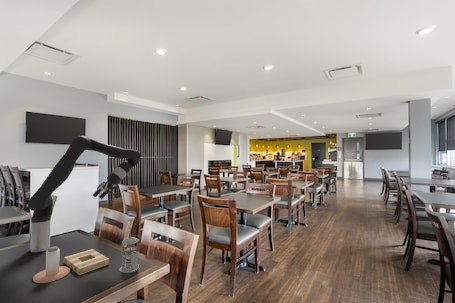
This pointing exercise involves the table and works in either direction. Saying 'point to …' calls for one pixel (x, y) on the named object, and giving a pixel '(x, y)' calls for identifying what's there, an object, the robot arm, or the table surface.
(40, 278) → the terracotta plate
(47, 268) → the pepper mill
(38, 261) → the table surface
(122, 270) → the french press
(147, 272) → the table surface
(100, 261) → the mill caddy
